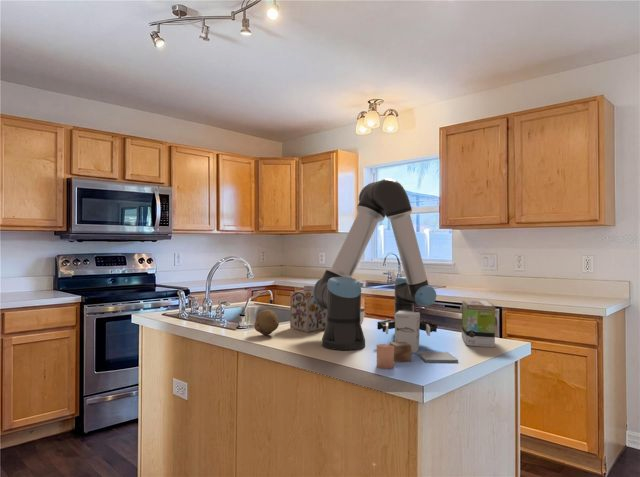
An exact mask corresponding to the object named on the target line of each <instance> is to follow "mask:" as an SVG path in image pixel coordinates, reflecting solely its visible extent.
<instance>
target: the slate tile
mask: <svg viewBox="0 0 640 477" xmlns="http://www.w3.org/2000/svg"><path fill="white" fill-rule="evenodd" d="M416 353H417V356H418V357H419V358H420V359H421V360H422V361H423V362H424V363H449V364H450V363H459V359H458V358H456V356H454V355H453V354H451V353H450V352H448V351H417V352H416Z"/></svg>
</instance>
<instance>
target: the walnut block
mask: <svg viewBox="0 0 640 477" xmlns="http://www.w3.org/2000/svg"><path fill="white" fill-rule="evenodd" d="M389 345H393V346H394V363H409V362H410V363H411V362H412V352H411V345H410V344H408V343H406V342H395V341H392V342H391V341H389Z"/></svg>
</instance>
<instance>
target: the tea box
mask: <svg viewBox="0 0 640 477" xmlns="http://www.w3.org/2000/svg"><path fill="white" fill-rule="evenodd" d="M461 305H462V306H461V307H462V308H461V310H462V312H461V339H462V340H463V342H464V343H465V345H466V346H468V347H469V346H470V347H483V348H484V347H487V348H494V347H495V343H496V342H495V341H496V340H495V338H496V305H494V304H492V303H491V302H490V301H488V300H487V301H486V300H465V299H464V300H462V304H461Z"/></svg>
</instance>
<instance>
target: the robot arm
mask: <svg viewBox="0 0 640 477" xmlns="http://www.w3.org/2000/svg"><path fill="white" fill-rule="evenodd" d="M356 210H357V215H356V217H355V219H354V221H353V223H352V225H351V227H350V228H349V231H348V233H347V235H346V236H345V237H346V238H344V241H343V243H342V245H341V247H340V250H339V251H338V253H337V255H336V258H335V259H334V261H333V264H332V266H331V267H330V268H326V269H325V271H324V273H323V276H322V278H320V279H319V280H317V281H316V283H314V285H313V286H314V288H313V297H314V299H315V301H316V303H317V304H318V305H319V306H321V307H322V308H324V309H327V325H326V328H325V330H324V332H323V335H322V338H321V346H323V347H324V348H327V349H330V350H336V351H337V350H338V351H352V350H354V351H355V350H360V349H363V348H365V347H366V337H365V335H364V331H363V328H362V324H360V316H361V306H362V303H361V302H362V286H361V282H360V280H358V279H356V278H353V275H354V273H355V271H356V270H357V267H358V265H359V263H360V261H361V259H362V257H363V254H364V252H365V251H366V249H367V246H368V244H369V242H370V240H371V238H372V236H373V234H374V232H375V229H376V227H377V225H378V224H379V223H380V222H382V221H384V220H385V217H386V218H387V219H388V220H389V221H390V225H391V228H392V232H393V237H394V239H395V240H394V241H395V244H396V247H397V250H398V255H399V258H400V261H401V265H402V269H403V272H404V275H405V276H396V277H395V279H394V313H393V320H392V319H391V318H388V317H387V318H386V319H384V320H380V321H377V322H376V323H377V325H376V326H377V328H376V330H378V331H379V330H382V332H383V333H385V335H388V334H389V330H393V329H395V313H397V312H398V311H407V312H415V308H414V306H415V305H418V306H421V307H422V306H423V307H428V306H433V304H434V302H435V301H436V300H437V291H436V289H435V288H434V287H432V286H430V284H429V282H428V278H427V277H428V276H427V274H426V271H425V267H424V266H425V265H424V262H423V259H422V255H421V251H420V248H419V244H418V240H417V235H416V232H415V227H414V225H413V220H412V217H411V213H412V211H413V209H412V205H411V202H410V199H409V196H408V194H407V192H406V190H405V188H404V187H403V185H402V184H401V183H400V182H399V181H397V180H395V179H392V178H383V179H381V180H379V181H373V182H369V183H368V184H366V185H365V186H364V187H362V189H361V191H360V192H359V195H358V204H357V206H356ZM437 328H438V327H437V324H436V323H433V322H432V321H427V320H425V319H421V320H420V331H423V332H425V333H426V335H427V336H428V337H430V336H431V333H433V332H434V333H437Z"/></svg>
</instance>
